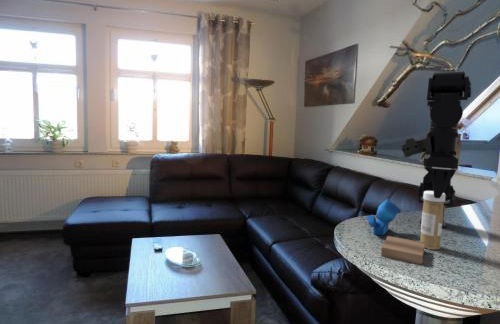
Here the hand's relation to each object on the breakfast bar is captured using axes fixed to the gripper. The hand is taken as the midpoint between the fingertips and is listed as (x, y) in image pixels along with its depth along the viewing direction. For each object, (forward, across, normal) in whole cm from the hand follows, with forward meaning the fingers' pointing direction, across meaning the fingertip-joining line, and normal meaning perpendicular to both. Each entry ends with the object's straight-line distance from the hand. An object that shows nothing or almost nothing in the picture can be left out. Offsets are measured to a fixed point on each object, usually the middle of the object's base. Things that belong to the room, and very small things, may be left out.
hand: (437, 194), depth 77 cm
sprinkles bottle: (+13, 0, -1) cm, 13 cm away
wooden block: (+13, +8, -6) cm, 16 cm away
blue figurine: (+13, -5, -12) cm, 19 cm away
